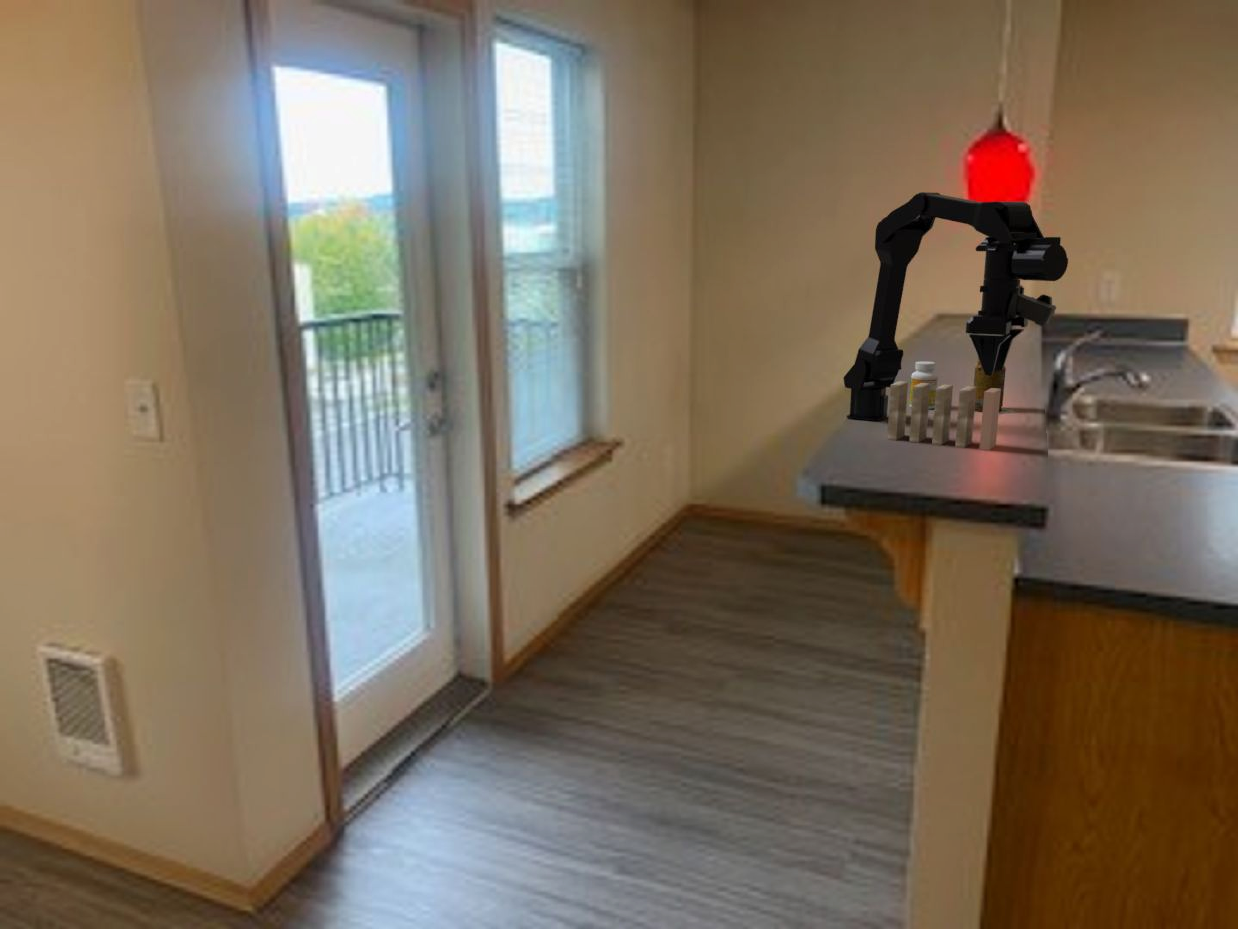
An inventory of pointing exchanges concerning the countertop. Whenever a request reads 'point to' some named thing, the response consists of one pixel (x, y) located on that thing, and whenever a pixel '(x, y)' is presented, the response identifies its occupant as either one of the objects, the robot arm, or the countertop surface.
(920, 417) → the domino
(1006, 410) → the condiment
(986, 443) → the domino
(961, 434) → the domino
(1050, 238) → the robot arm
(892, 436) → the domino
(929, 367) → the supplement bottle
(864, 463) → the countertop surface
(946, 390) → the domino
